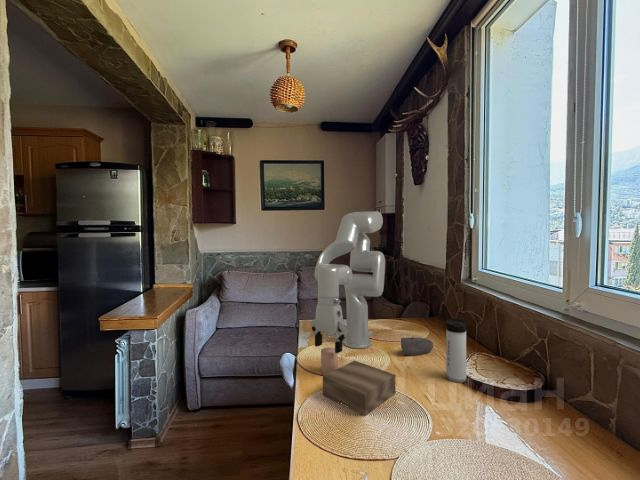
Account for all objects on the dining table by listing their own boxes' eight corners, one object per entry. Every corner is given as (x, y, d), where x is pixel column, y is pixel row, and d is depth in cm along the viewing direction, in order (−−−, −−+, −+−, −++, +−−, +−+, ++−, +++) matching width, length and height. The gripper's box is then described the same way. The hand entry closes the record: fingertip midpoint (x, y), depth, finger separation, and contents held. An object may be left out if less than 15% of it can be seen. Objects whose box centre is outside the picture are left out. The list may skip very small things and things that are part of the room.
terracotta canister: (328, 367, 116) (328, 346, 116) (341, 372, 112) (341, 350, 112) (317, 373, 112) (317, 351, 112) (330, 378, 108) (329, 355, 108)
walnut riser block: (354, 377, 108) (354, 360, 108) (395, 393, 97) (395, 374, 97) (322, 395, 96) (322, 376, 96) (365, 415, 85) (365, 394, 85)
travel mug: (465, 375, 109) (464, 318, 108) (467, 384, 102) (467, 323, 102) (445, 372, 111) (445, 317, 110) (446, 381, 104) (446, 322, 104)
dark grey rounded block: (430, 350, 132) (429, 334, 132) (436, 355, 127) (436, 338, 127) (396, 353, 130) (396, 336, 129) (402, 358, 124) (402, 340, 124)
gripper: (354, 302, 108) (354, 352, 108) (318, 296, 120) (318, 341, 120) (340, 305, 102) (340, 357, 102) (304, 299, 114) (304, 345, 114)
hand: (328, 348), depth 111 cm, fingers open, 9 cm apart
